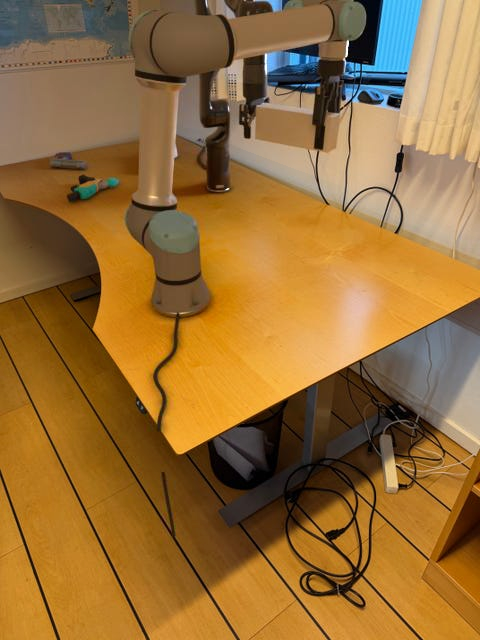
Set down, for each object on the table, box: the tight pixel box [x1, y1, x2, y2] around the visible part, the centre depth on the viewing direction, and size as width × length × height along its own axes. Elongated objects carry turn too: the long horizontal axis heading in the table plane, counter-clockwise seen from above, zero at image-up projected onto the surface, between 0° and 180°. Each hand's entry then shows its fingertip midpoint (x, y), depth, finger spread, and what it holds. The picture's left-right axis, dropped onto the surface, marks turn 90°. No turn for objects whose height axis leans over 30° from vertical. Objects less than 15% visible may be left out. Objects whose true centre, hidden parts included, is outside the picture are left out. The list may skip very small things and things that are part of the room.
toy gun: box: [48, 151, 87, 170], centre depth 217 cm, size 4×19×15 cm
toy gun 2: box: [66, 173, 120, 203], centre depth 188 cm, size 4×26×15 cm
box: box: [254, 103, 341, 154], centre depth 144 cm, size 25×6×10 cm, turn 56°
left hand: (323, 146), depth 142 cm, fingers closed on box, 6 cm apart
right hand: (254, 135), depth 154 cm, fingers open, 8 cm apart
